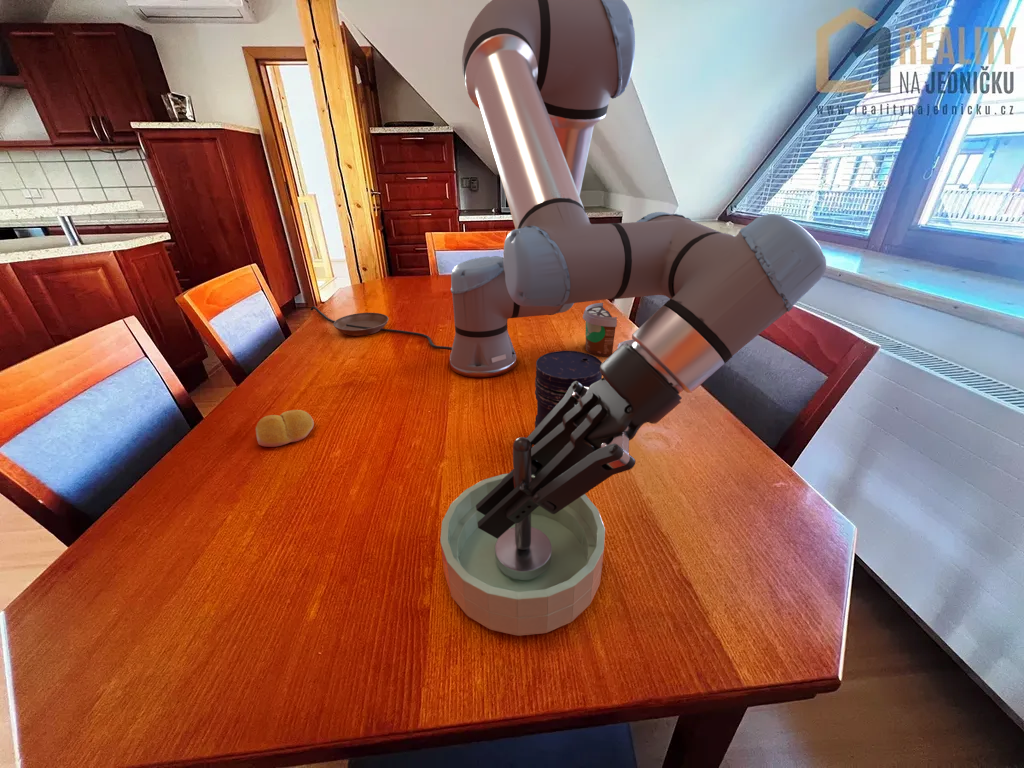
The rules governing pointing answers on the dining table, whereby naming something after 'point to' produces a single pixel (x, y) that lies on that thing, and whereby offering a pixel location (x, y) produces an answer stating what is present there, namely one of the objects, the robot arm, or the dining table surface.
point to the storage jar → (562, 377)
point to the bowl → (522, 600)
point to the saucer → (361, 323)
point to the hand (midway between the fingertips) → (486, 521)
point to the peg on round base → (523, 530)
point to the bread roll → (283, 428)
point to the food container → (599, 330)
